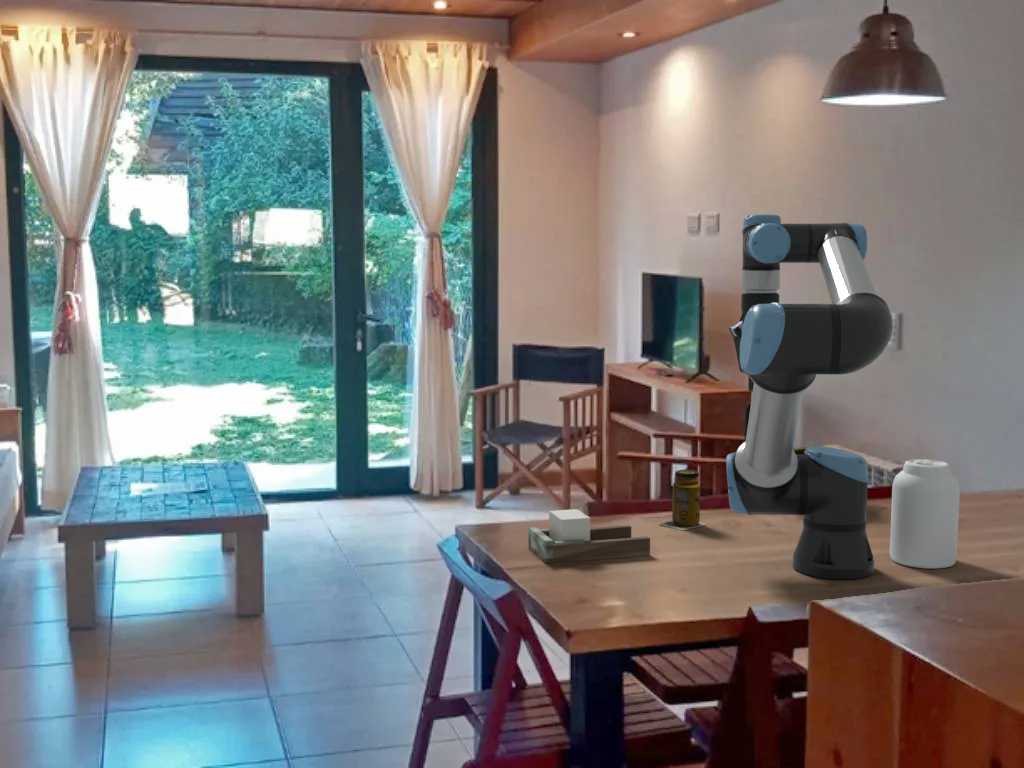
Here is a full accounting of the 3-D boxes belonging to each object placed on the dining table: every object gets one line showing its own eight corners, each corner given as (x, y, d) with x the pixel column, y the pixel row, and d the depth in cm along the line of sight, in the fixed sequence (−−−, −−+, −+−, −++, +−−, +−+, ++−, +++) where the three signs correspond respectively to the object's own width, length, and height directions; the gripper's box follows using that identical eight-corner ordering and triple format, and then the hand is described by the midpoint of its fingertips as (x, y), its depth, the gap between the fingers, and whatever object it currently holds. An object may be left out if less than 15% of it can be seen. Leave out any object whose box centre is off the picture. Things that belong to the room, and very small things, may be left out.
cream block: (589, 552, 239) (590, 517, 238) (561, 554, 237) (561, 519, 236) (576, 542, 246) (576, 509, 246) (549, 544, 245) (549, 510, 244)
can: (876, 556, 240) (880, 458, 237) (927, 550, 244) (931, 454, 242) (918, 572, 228) (922, 469, 226) (970, 566, 232) (975, 465, 230)
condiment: (707, 524, 266) (708, 471, 265) (683, 531, 261) (684, 477, 259) (681, 519, 272) (682, 467, 270) (657, 525, 266) (658, 472, 264)
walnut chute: (649, 555, 241) (650, 533, 240) (545, 563, 235) (545, 541, 234) (628, 541, 252) (628, 520, 251) (528, 548, 246) (528, 527, 245)
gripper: (778, 290, 247) (775, 403, 250) (722, 291, 243) (720, 406, 246) (798, 292, 240) (795, 408, 243) (741, 292, 236) (738, 411, 239)
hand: (757, 407), depth 244 cm, fingers closed
